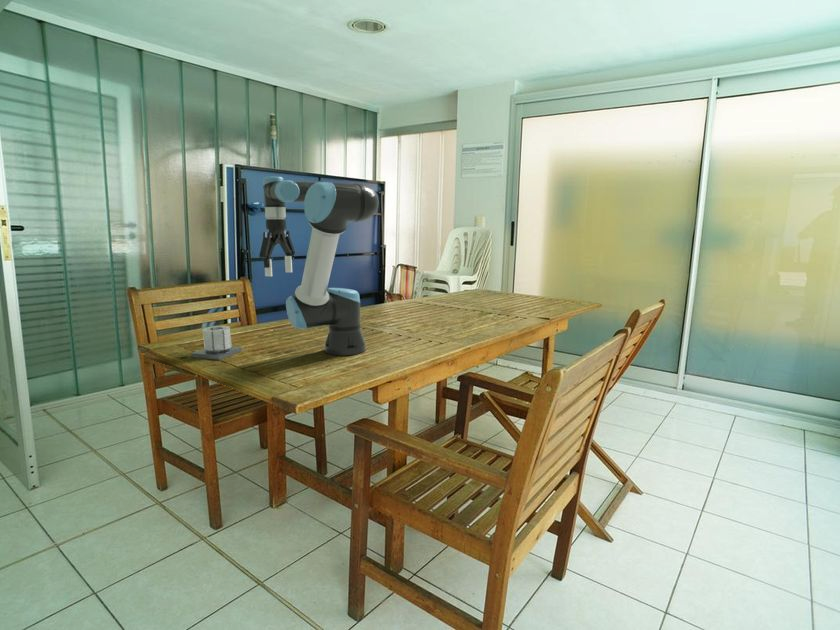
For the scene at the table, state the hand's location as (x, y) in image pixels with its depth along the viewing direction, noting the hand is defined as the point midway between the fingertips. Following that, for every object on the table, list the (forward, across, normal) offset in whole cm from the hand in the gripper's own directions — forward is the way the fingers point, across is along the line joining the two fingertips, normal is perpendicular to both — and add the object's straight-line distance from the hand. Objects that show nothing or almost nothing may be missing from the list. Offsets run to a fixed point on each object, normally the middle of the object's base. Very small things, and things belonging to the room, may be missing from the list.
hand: (279, 274), depth 192 cm
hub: (+24, +23, -12) cm, 36 cm away
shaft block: (+27, +24, -12) cm, 38 cm away
